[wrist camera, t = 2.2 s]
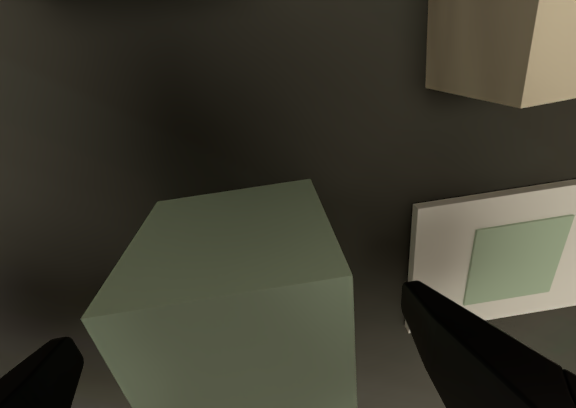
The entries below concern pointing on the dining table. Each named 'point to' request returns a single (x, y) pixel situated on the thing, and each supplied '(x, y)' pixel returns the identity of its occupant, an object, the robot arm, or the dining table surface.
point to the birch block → (503, 50)
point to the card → (499, 249)
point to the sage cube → (231, 305)
